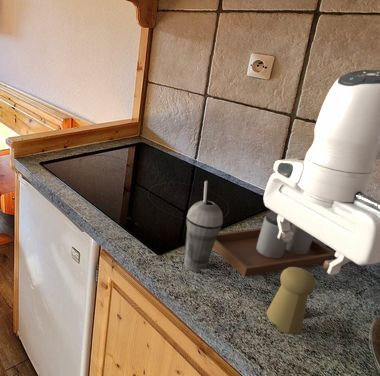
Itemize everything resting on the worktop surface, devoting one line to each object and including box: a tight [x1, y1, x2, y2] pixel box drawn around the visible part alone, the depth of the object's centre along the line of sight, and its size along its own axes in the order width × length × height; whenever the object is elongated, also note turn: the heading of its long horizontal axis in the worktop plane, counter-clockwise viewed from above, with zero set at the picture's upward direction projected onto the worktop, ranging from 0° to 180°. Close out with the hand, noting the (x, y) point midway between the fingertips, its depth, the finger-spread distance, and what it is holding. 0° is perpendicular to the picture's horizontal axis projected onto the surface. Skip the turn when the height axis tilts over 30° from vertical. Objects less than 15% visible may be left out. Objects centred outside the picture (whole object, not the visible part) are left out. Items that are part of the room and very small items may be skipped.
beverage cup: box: [183, 180, 224, 272], centre depth 85 cm, size 7×7×20 cm
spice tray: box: [212, 227, 337, 278], centre depth 93 cm, size 24×14×3 cm, turn 105°
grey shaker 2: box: [286, 224, 315, 254], centre depth 93 cm, size 6×6×9 cm
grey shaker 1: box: [256, 211, 293, 258], centre depth 91 cm, size 6×6×9 cm
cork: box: [266, 267, 317, 335], centre depth 72 cm, size 6×6×11 cm
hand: (305, 255), depth 68 cm, fingers open, 8 cm apart
